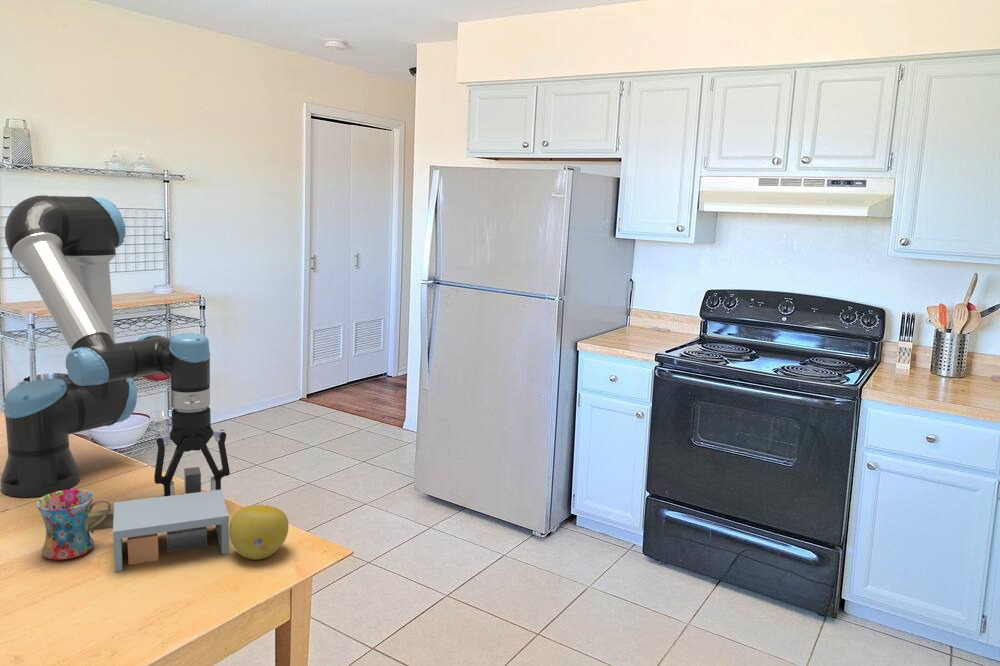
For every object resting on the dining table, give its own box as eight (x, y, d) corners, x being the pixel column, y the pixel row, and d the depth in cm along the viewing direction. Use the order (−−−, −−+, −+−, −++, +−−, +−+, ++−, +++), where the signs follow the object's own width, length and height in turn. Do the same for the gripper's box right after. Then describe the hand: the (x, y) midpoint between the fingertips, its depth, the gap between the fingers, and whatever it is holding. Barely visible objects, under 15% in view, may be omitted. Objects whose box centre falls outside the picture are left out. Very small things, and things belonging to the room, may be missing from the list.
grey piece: (163, 510, 155) (162, 470, 153) (199, 505, 158) (199, 466, 157) (167, 551, 138) (166, 507, 137) (208, 545, 142) (207, 502, 140)
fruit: (294, 559, 138) (295, 510, 136) (236, 572, 133) (235, 521, 131) (280, 537, 147) (280, 490, 145) (224, 547, 141) (223, 500, 139)
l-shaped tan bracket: (65, 534, 142) (63, 501, 141) (66, 528, 145) (64, 495, 144) (122, 526, 147) (121, 494, 146) (122, 520, 150) (121, 488, 148)
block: (128, 552, 137) (127, 528, 136) (157, 548, 140) (156, 524, 139) (128, 565, 133) (127, 539, 132) (158, 560, 135) (157, 535, 134)
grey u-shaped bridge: (115, 540, 141) (114, 502, 140) (221, 525, 150) (220, 489, 148) (114, 573, 130) (113, 531, 128) (229, 554, 139) (228, 515, 137)
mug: (40, 569, 130) (37, 513, 128) (37, 547, 137) (34, 494, 135) (115, 553, 137) (113, 500, 135) (109, 533, 144) (106, 483, 142)
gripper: (137, 416, 144) (141, 523, 148) (244, 408, 153) (245, 509, 157) (136, 406, 150) (140, 509, 155) (239, 399, 160) (240, 496, 164)
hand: (193, 509), depth 156 cm, fingers open, 7 cm apart
